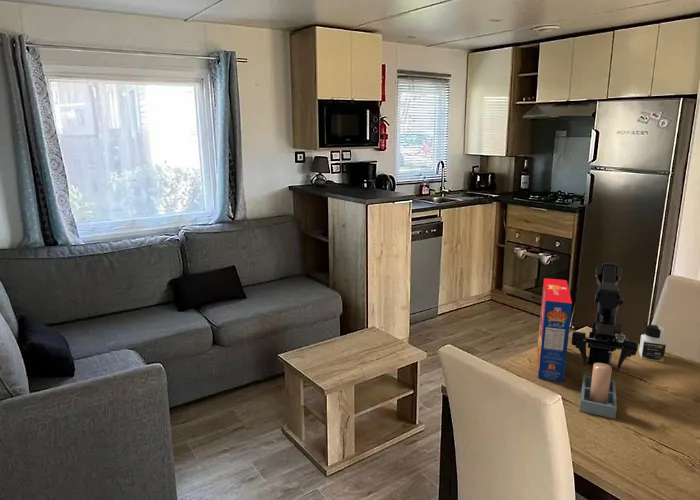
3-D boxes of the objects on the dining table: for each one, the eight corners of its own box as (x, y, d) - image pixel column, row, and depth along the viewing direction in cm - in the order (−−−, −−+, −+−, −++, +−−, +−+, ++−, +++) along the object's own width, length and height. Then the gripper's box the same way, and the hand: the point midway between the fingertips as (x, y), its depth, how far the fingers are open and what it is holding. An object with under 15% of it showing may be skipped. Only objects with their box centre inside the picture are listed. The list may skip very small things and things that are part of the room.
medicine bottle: (641, 358, 188) (645, 328, 186) (638, 351, 195) (642, 322, 192) (663, 362, 186) (668, 331, 183) (660, 354, 192) (664, 324, 189)
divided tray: (581, 384, 169) (583, 374, 168) (614, 390, 165) (615, 381, 164) (579, 410, 153) (580, 400, 152) (615, 418, 149) (616, 408, 148)
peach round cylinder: (584, 403, 156) (589, 364, 153) (596, 400, 158) (601, 361, 155) (598, 411, 152) (603, 371, 149) (610, 407, 154) (615, 368, 151)
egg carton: (622, 341, 205) (623, 331, 204) (631, 349, 198) (632, 339, 197) (595, 340, 205) (596, 330, 205) (603, 348, 198) (604, 338, 197)
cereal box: (537, 346, 199) (544, 278, 193) (559, 349, 196) (566, 280, 190) (538, 378, 173) (545, 300, 167) (563, 382, 171) (572, 303, 164)
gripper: (575, 307, 163) (569, 352, 156) (641, 317, 155) (638, 364, 148) (574, 322, 172) (568, 365, 165) (636, 332, 164) (633, 377, 157)
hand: (601, 368), depth 159 cm, fingers open, 9 cm apart
